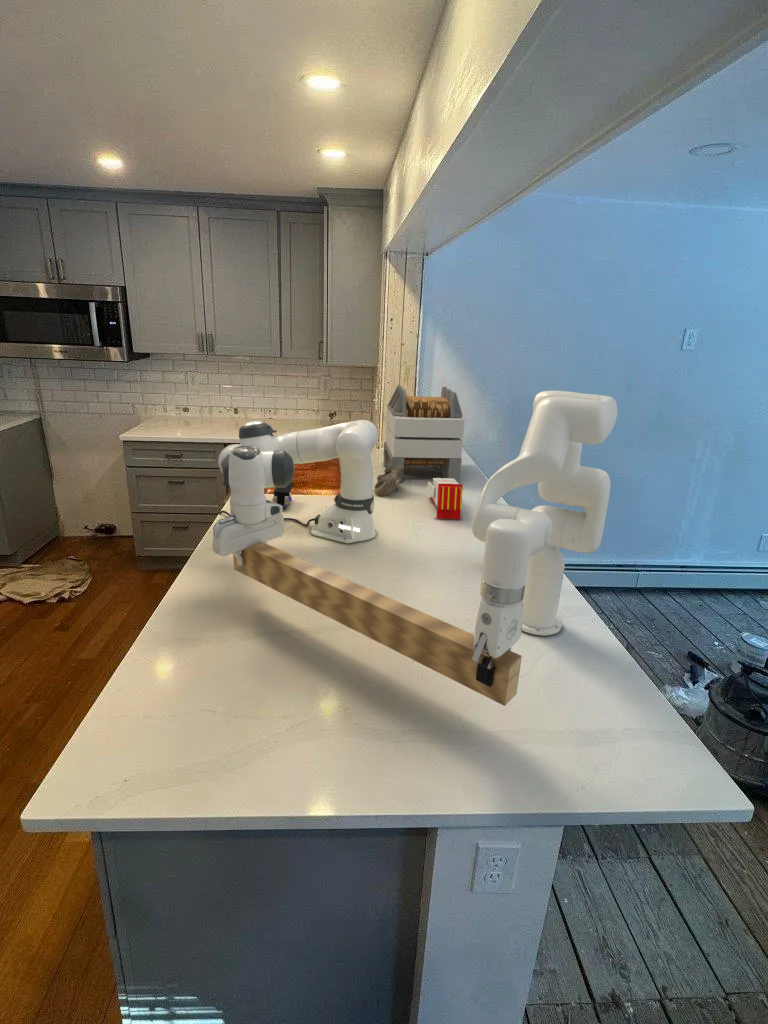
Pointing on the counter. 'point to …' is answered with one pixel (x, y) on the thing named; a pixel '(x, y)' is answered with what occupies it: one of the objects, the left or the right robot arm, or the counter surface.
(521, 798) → the counter surface
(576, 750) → the counter surface
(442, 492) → the toy
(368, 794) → the counter surface
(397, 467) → the fossil
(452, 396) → the grey crate shelf
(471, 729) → the counter surface
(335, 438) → the left robot arm
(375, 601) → the post
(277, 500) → the figurine character
